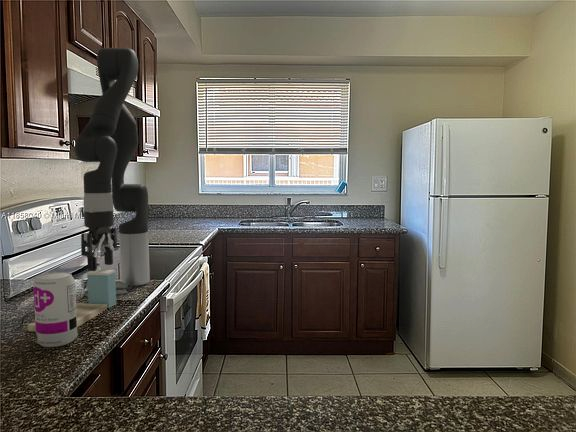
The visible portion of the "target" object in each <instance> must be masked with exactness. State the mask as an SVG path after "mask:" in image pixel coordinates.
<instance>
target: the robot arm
mask: <svg viewBox="0 0 576 432" xmlns="http://www.w3.org/2000/svg"><path fill="white" fill-rule="evenodd" d="M96 66H97V72H98V78H99V82H100V88H101V95H100V96H99V98H98V99H97V100H96V102H95V103H94V106H93V109H92V112H91V115H90V118H89V122H88V123H87V124H86V125H85V127H84V128H83V129H82V131H81V132H80V134H79V135H78V136H77V138H76V140H75V144H74V153H75V157H77V159H78V160H79V161H81V162H83V163H99V164H98V167H97V168H96V169H94V170H90V171H87V172H85V173H84V174H83V201H82V202H83V203H82V204H83V221H84V222H83V223H84V224H83V225H84V227H85V228H88V232H84V233H81V234H80V235H81V236H80V242H81V243H80V244H81V245H80V248H81V249H80V250H81V256H82V257H85V258H86V259H87V260H86V261H87V270H88V271H87V272H90V271H96V270H97V269H98V266H97V265H98V263H97V254H98V251H101V250H100V249H101V248H102V249H103V251H104V253H103V255H104V256H103V257H104V265H105V266H111V265H113V264H114V254H113V252H114V251H115V249H117V247H118V244H119V266H120V267H119V268H120V270H119V271H120V281H121V282H123V283H124V284H127V282H130V281H132V282H131V283H132V287H135V286H142V285H146V284H149V283H150V278H151V276H150V275H151V274H150V273H151V272H150V253H149V252H150V251H149V249H150V247H149V191H148V188H147V186H146V185H145V184H142V183H125V181H124V180H125V172H126V170H127V167H128V165H129V163H130V162H131V160H132V158H133V157H134V155H135V153H136V151H137V149H138V146H139V135H138V123H137V122H136V119H135V117H134V115H132V113H131V111H130V110H129V109H128V108H127V106H126V105H125V101H126V99H127V97H128V96H129V94H130V91H131V89H132V87H133V84H134V83H135V81H136V78H137V76H138V72H139V60H138V57H137V54H136V52H135V50H133V49H132V48H128V47H127V48H126V47H102V48H100V49H99V50H98V51H97V56H96ZM114 210H115V211H116V212H119V213H135V216H134V217H133V218H132V219H130V220H128V221H125V222H122V223H120V224H119V226H118V238H117V228H116V227H113V226H114V225H115V224H114V223H115V219H114ZM117 239H119V241H118V240H117ZM118 242H119V243H118Z"/></svg>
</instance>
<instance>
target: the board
mask: <svg viewBox="0 0 576 432" xmlns="http://www.w3.org/2000/svg"><path fill="white" fill-rule="evenodd" d="M105 310H106V311H107V310H108V309H107V304H89V303H85V302H84V303H83V302H82V303H80V302H76V314H77V328H78V327H80V326H82V325H83V324H85V323H86V322H88V321H90V320H92V319H94V318H96V317H97V316H99V315H101V314H102V313H104V312H105ZM103 311H104V312H103ZM100 313H101V314H100ZM98 314H99V315H98ZM27 328H28V329H27V331H28V332H36V325H35V321H33V322H30V323H29V324H27Z"/></svg>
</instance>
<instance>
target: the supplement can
mask: <svg viewBox="0 0 576 432" xmlns="http://www.w3.org/2000/svg"><path fill="white" fill-rule="evenodd" d="M32 289H33V290H32V291H33V303H34V304H33V305H34V308H33V309H34V322H35V325H36V331H35V340H36V343H37V344H38V345H40V346H41V347H45V348H54V347H55V348H57V347H62V346H65V345H68V344H71V343H72V342H74V341H75V339H77V337H78V327H77V314H76V303H77V299H76V297H77V296H76V280H75V278H74V277H73V275H72V273H71V272H67V271H54V272H47V273H42V274H39V275H37V276H36V277H35V280H34V282H33V284H32Z"/></svg>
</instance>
